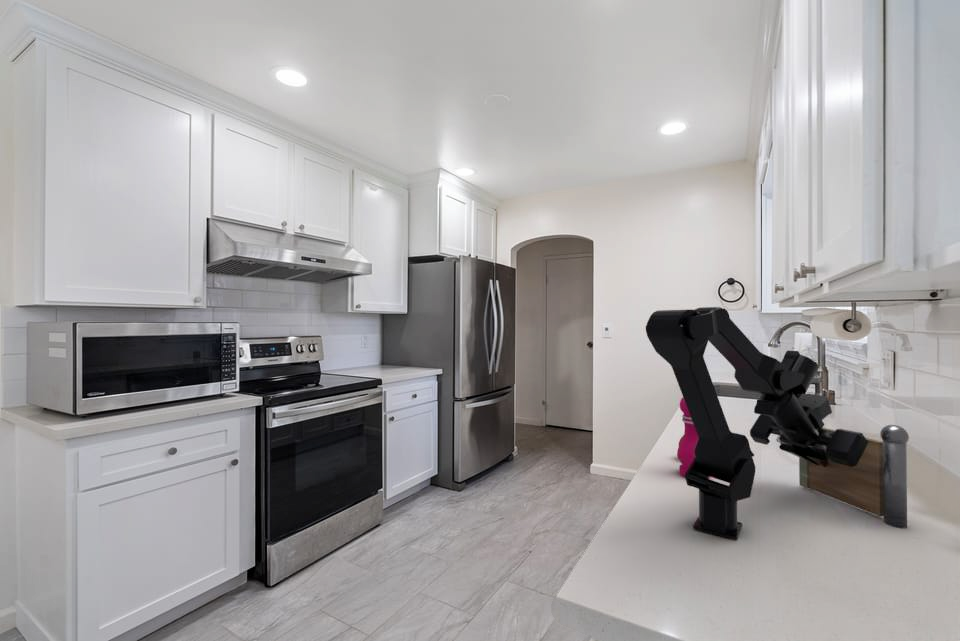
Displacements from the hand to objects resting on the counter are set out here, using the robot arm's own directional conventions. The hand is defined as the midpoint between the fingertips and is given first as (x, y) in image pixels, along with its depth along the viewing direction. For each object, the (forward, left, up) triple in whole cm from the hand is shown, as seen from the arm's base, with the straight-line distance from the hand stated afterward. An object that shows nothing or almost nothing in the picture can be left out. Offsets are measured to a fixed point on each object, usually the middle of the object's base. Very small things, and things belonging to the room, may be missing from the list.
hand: (822, 464), depth 89 cm
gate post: (-7, -10, -6) cm, 14 cm away
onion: (+10, +26, -7) cm, 29 cm away
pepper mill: (-1, +23, -7) cm, 24 cm away
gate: (-1, -3, -6) cm, 7 cm away
